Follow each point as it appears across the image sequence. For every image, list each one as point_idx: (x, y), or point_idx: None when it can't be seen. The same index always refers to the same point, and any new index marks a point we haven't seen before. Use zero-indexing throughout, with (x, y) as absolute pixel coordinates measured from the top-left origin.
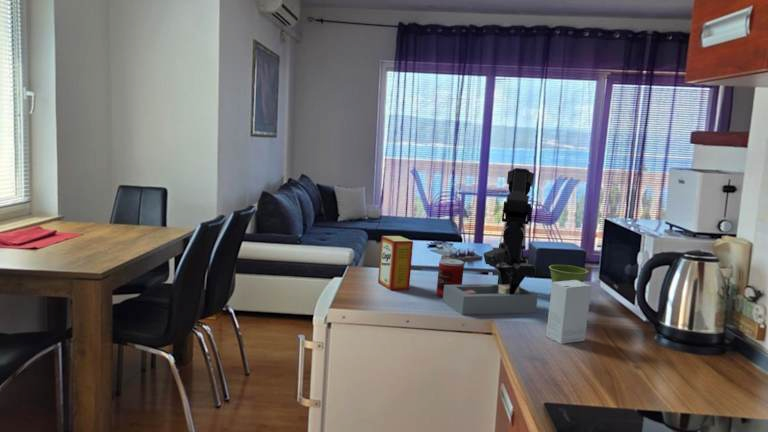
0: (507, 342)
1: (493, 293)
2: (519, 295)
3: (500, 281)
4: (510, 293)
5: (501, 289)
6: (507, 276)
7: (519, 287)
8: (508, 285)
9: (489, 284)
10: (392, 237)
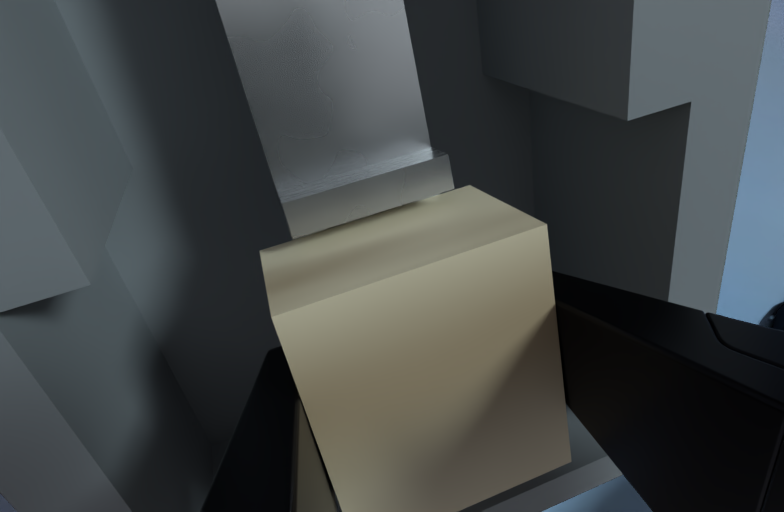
0: None
1: (590, 136)
2: (22, 498)
3: (647, 298)
4: (265, 358)
5: (417, 242)
6: (690, 494)
7: (551, 491)
8: (482, 399)
9: (747, 95)
10: None
